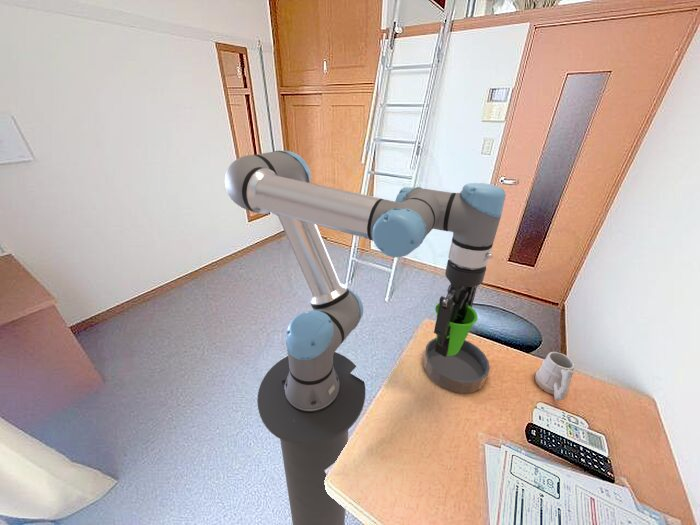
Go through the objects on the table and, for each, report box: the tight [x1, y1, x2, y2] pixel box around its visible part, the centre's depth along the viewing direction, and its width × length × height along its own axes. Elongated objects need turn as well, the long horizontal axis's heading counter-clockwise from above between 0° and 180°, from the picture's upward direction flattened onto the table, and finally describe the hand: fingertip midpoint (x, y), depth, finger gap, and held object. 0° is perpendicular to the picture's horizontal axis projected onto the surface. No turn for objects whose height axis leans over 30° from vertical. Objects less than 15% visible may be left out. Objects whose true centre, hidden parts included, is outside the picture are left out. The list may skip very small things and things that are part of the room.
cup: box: [434, 302, 478, 356], centre depth 67 cm, size 9×9×11 cm
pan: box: [422, 336, 491, 394], centre depth 87 cm, size 18×18×4 cm
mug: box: [534, 351, 576, 402], centre depth 79 cm, size 8×12×12 cm, turn 161°
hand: (447, 346), depth 69 cm, fingers closed on cup, 5 cm apart
